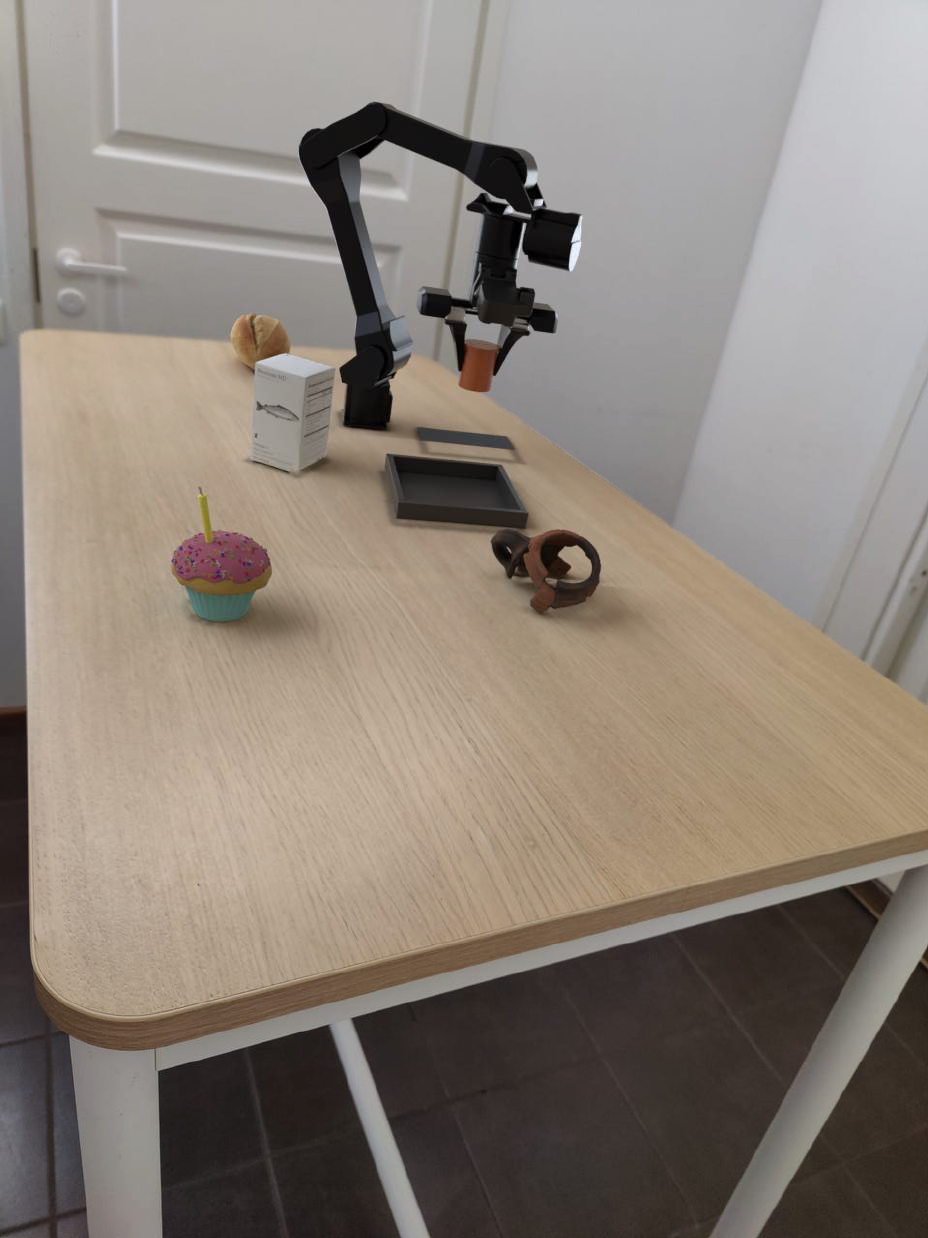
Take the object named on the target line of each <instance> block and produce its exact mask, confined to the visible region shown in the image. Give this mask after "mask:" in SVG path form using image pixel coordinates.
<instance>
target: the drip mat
mask: <svg viewBox="0 0 928 1238" xmlns="http://www.w3.org/2000/svg"><path fill="white" fill-rule="evenodd" d="M416 429H417V433H418V436H419V438H420V441H421V442H431V443H441V444H452V445H462V446H471V447H480V448H490V449H499V450H508V451H509V450H511V451H515V448H514V445H513V444H512V443H511V441H510V439H509V437H508V436H506V435H499V434H488V433H478V432H469V431H459V430H449V429H440V428H431V427H420V426H417V428H416Z"/></svg>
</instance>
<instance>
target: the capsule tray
mask: <svg viewBox="0 0 928 1238" xmlns="http://www.w3.org/2000/svg"><path fill="white" fill-rule="evenodd" d="M384 461H385V462H384V471H385V472H384V473H385V476H386V480H387V484H388V490H389V493H390V497H391V501H392V505H393V510H394V515H395V519H398V520H399V519H400V520H411V521H423V522H435V523H447V524H449V523H450V524H461V525H471V526H472V525H473V526H484V527H485V526H486V527H497V528H507V529H522V530H525V529H526V527H527V523H528V519H529V511H528V510H527V507H526V506H525V504H524V502H523V500H522V499H521V497H520V495H519V493H518V490H516V489H517V488H516V487H515V486H514V484H513V482H512V480H511V478H510V477H509V475H508V473H507V471H506V469H505V467H504V465H503V464H499V463H489V462H479V461H467V460H457V459H448V458H437V457H428V456H427V457H426V456H416V455H407V454H397V453H396V454H395V453H385V460H384Z"/></svg>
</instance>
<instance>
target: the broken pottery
mask: <svg viewBox="0 0 928 1238" xmlns="http://www.w3.org/2000/svg"><path fill="white" fill-rule="evenodd" d="M490 545H491V550H492V553H493V555H494V557H495V559H496V560H497V561H498V563H499V564H500V565H502V567H503V568H504V571H505V575H506V576H507V579H512V578H513V576H514V574H515V573H516V571H518V572H523V571H527V573H528V575H529V578H530V580H531V582H532V584H533V585H534V587H535V588H536V589H537V591H536V593H535V595H534V596H533V597H532V598H531V599H530V601H529V606H530V607H531V608H532V609H533V610H535V611H536V612H537V613H538V614H539V613H540V614H543V613H544V612H547V611H548V610H549V609H550V608H551V609H552V610H558V609H564V608H569V607H574V606H577V605H579V604H582V603H585V602H586V601H587V597H588V598H590V597H592V596H593V594H595V591H596V590H597V588H598V586H599V584H600V582H601V581H600V579H601V575H600V574H601V572H602V563H601V558H600V554H599V552H598V550H597V548H595V546H594V545H593V544H592V543H591V542H590V541H589V540H588V539H587V538H586V537H584V536H583V535H580V534H579V533H576V532H574V531H571V530H567V529H559V528H557V529H550V530H547V531H545V532H543V533H541V534H538V535H535V536H531V537H529V536H527V535H525V534H523V533H521V532H520V531H519V530H515V529H513V528H503V529H502V528H501V529H499V530H498V531H497V532H496V533H495V534H494V535H493V536H492V537H491V539H490ZM576 546H577V547H578V548H579V549H581V550H582V551H583V553H584V556H585V557H586V559H588V560H589V561H590V564H591V572H590V575H589V576H588V577H587V578H586V579H585V580H581V581H579V582H567V581H563V578H560V579H557V580H556V583H555V586H553V585H552V584H550V583H549V582H548V581H547V580H546V579H547V577H548V576H549V575H550V573H549V571H552V572H556V573H559V574H561V575H567V574H568V572H569V571H570V570H571V569H572V565H571V564H570V563H568V562H567V561H566V560H564V559H563V558H562V557H561V556H559V554H560V553H561V551H562V550H564V549H565V547H566V548H573V547H576ZM548 570H549V571H548ZM517 576H518V577H519V575H517Z"/></svg>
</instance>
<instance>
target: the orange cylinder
mask: <svg viewBox="0 0 928 1238" xmlns="http://www.w3.org/2000/svg"><path fill="white" fill-rule="evenodd" d="M499 351H500V347H499V346H498V345H497V343H494V342H492V341H491V342H490V341H488V340H482V339H476V338H465V343H464V360H463V366H462V371H461V372H459V376H458V377H459V378H458V383H457V385H458V386H459V388H461V389H464V390H467V391H469V392H475V393H488V392H490V391H491V388H492V383H493V377H494V376H493V372H494V367H495V361H496V355H497V352H499Z"/></svg>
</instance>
